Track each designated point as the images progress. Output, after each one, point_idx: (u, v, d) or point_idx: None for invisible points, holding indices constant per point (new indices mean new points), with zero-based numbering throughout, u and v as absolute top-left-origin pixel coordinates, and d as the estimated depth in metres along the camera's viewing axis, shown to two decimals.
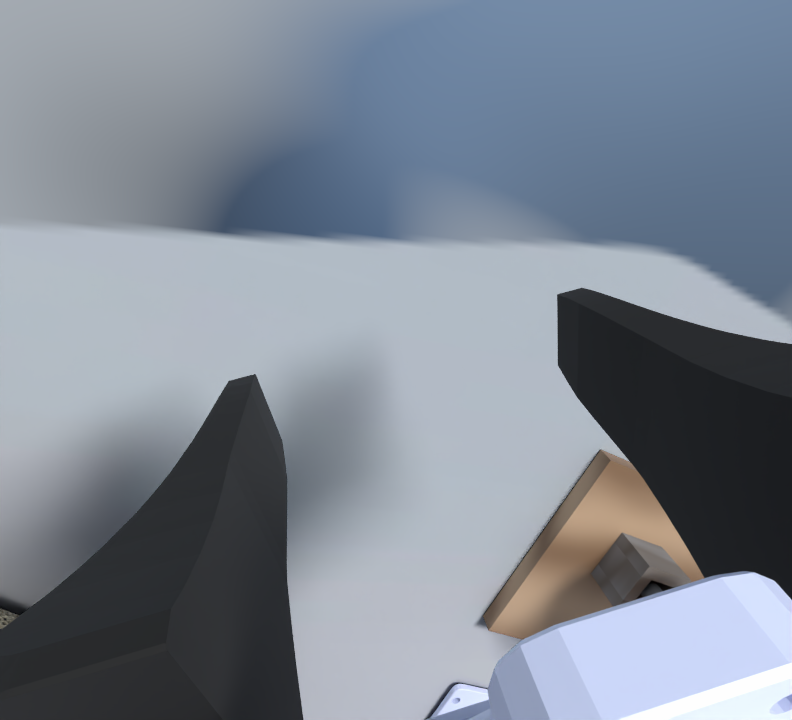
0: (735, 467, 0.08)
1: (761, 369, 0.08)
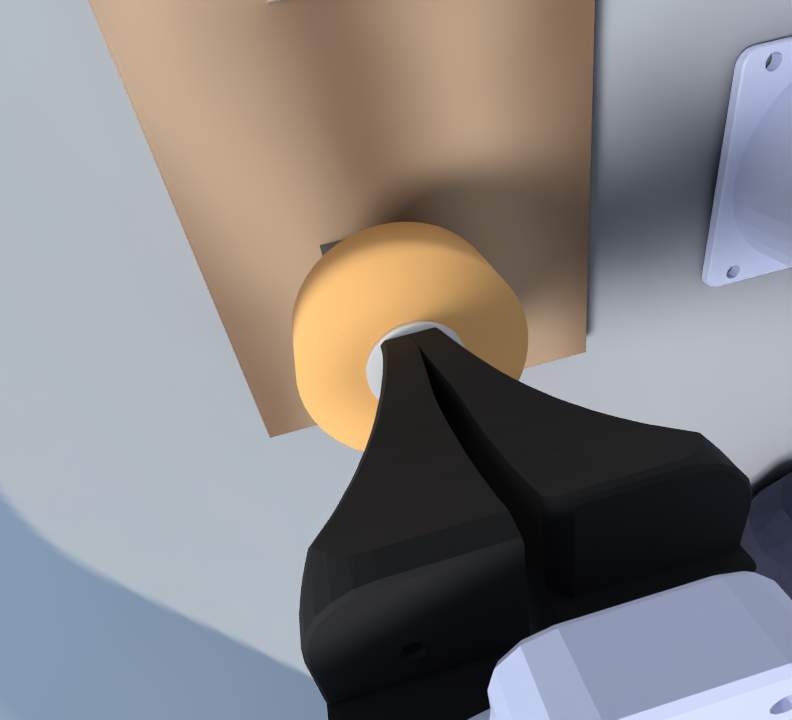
0: None
1: (528, 434, 0.08)
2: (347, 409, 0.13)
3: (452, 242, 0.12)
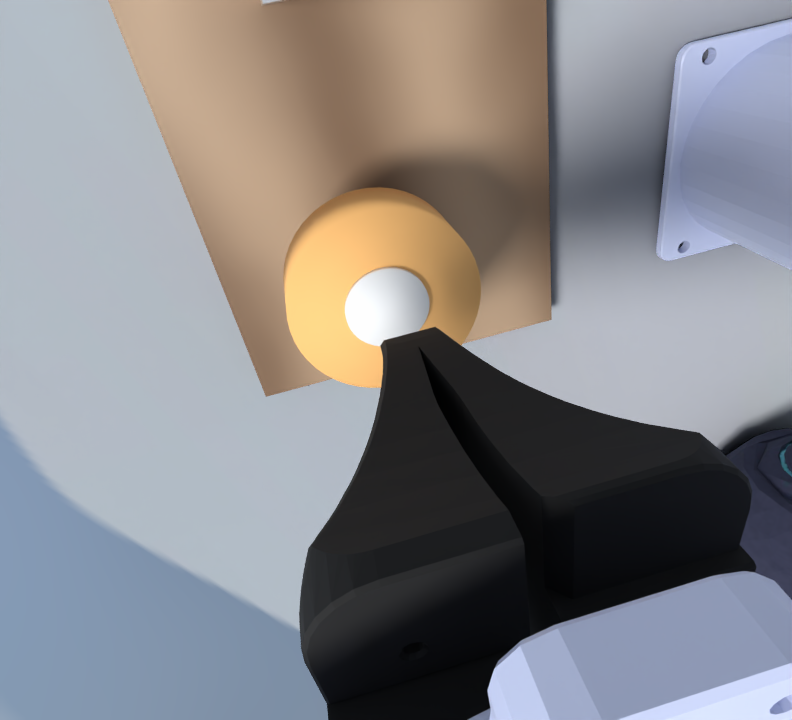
0: None
1: (528, 434, 0.07)
2: (330, 344, 0.16)
3: (415, 202, 0.15)
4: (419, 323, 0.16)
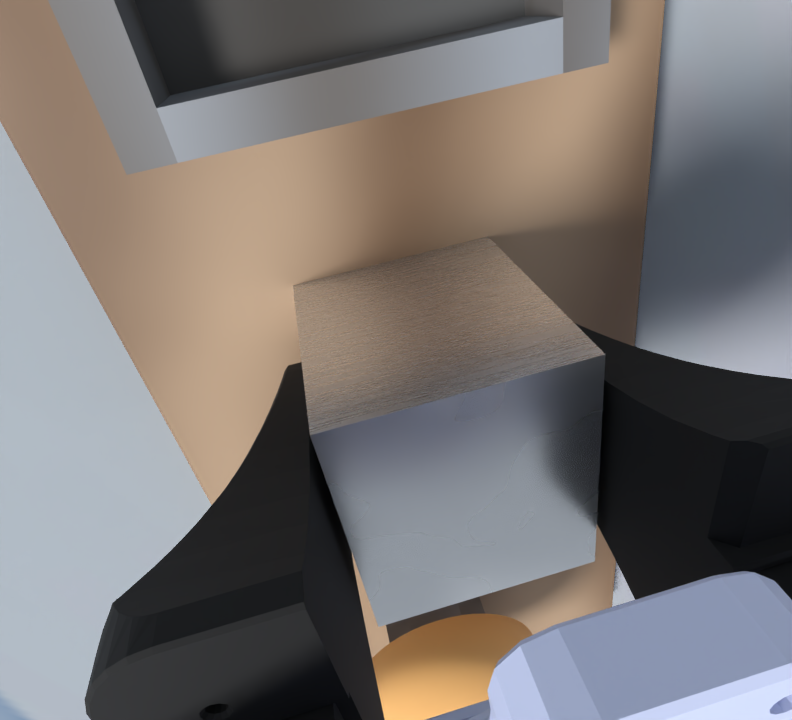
0: (652, 492, 0.08)
1: (674, 393, 0.08)
2: None
3: (501, 650, 0.15)
4: None
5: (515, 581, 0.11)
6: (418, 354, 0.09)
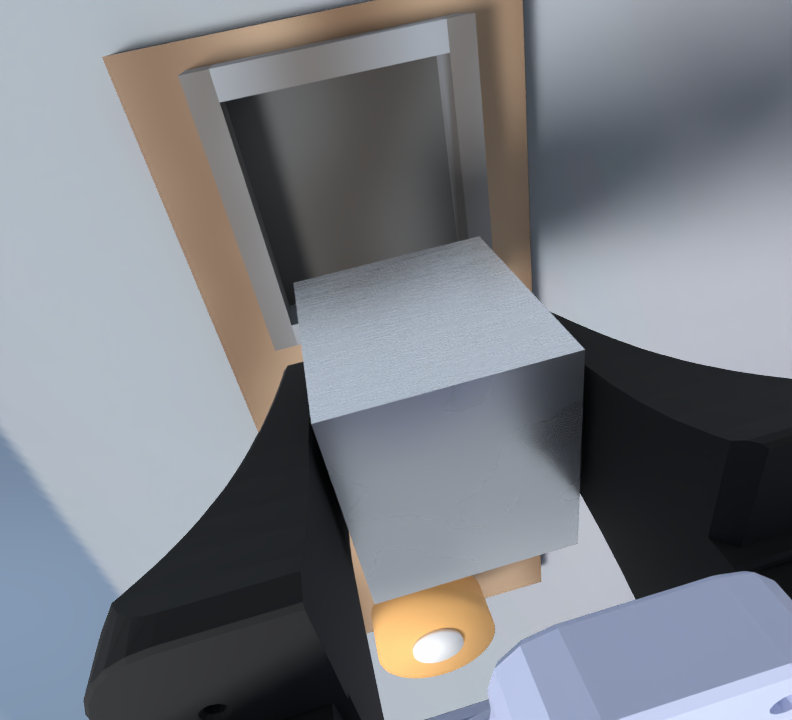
0: (652, 491, 0.08)
1: (675, 392, 0.08)
2: (402, 663, 0.26)
3: (456, 588, 0.25)
4: (456, 651, 0.26)
5: (503, 562, 0.11)
6: (412, 348, 0.09)
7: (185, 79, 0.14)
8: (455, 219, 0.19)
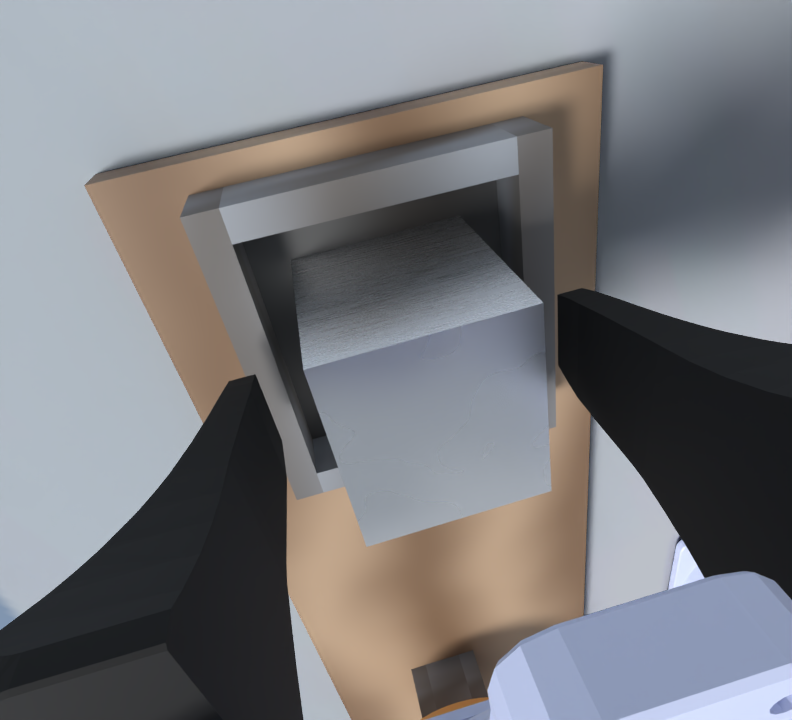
0: (735, 467, 0.08)
1: (761, 368, 0.08)
2: None
3: None
4: None
5: (482, 507, 0.12)
6: (393, 308, 0.11)
7: (189, 221, 0.11)
8: None
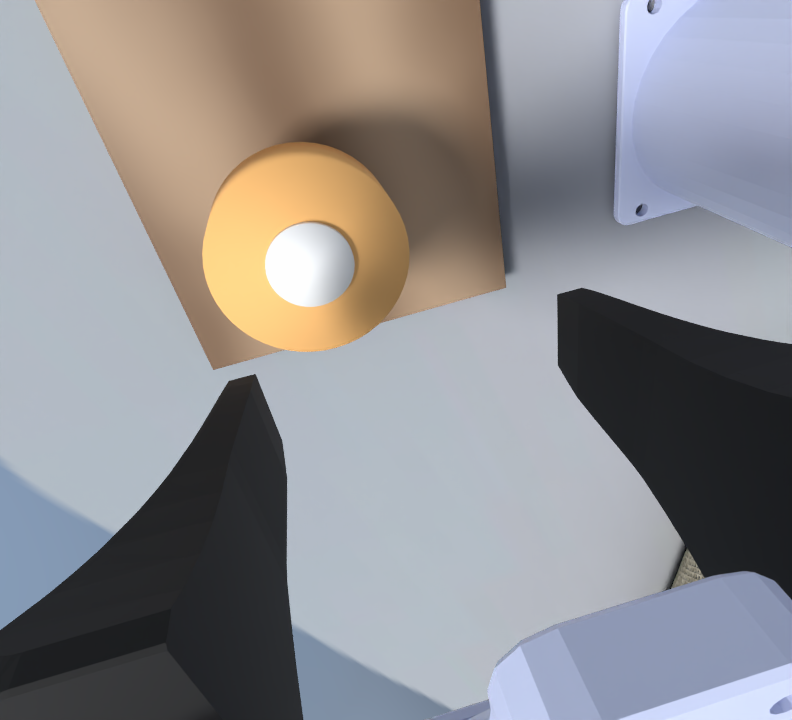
0: (735, 467, 0.08)
1: (761, 368, 0.08)
2: (254, 305, 0.15)
3: (335, 155, 0.14)
4: (345, 282, 0.15)
5: None
6: None
7: None
8: None
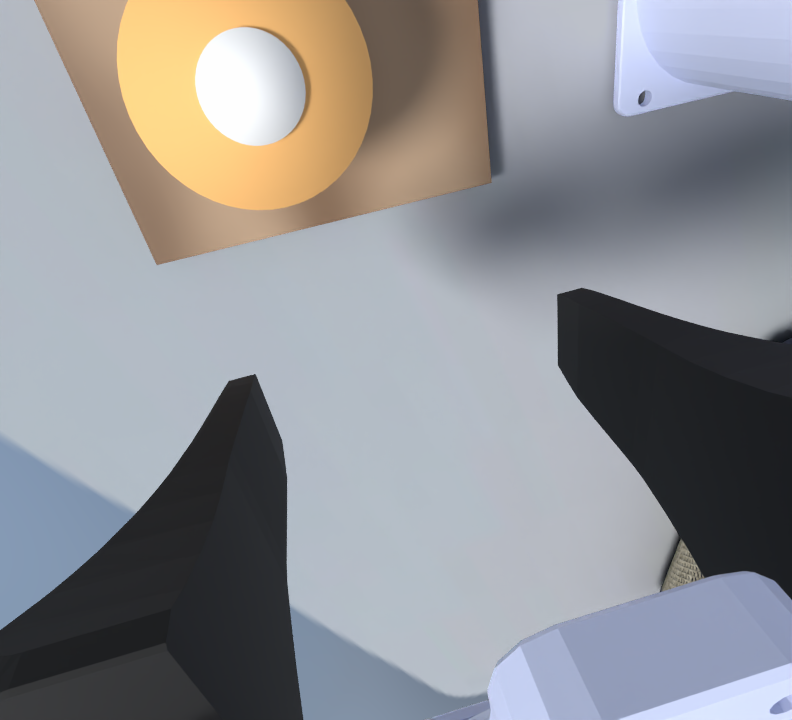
0: (735, 467, 0.08)
1: (761, 369, 0.08)
2: (184, 140, 0.13)
3: None
4: (295, 115, 0.13)
5: None
6: None
7: None
8: None
